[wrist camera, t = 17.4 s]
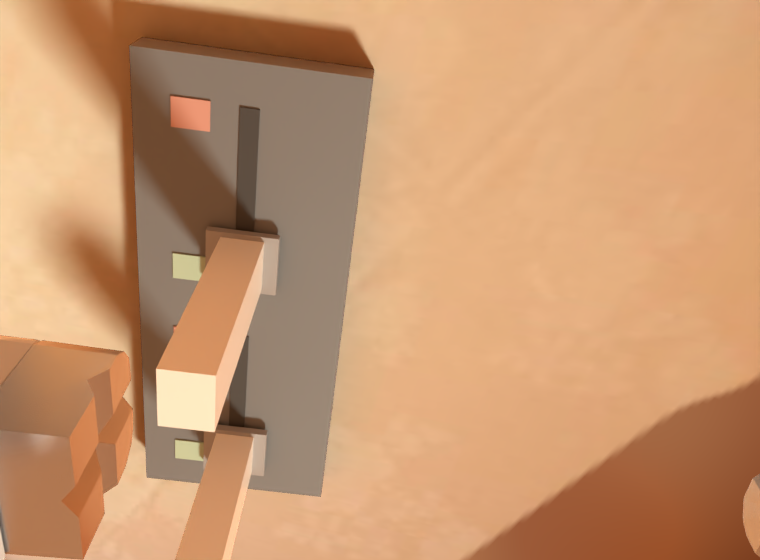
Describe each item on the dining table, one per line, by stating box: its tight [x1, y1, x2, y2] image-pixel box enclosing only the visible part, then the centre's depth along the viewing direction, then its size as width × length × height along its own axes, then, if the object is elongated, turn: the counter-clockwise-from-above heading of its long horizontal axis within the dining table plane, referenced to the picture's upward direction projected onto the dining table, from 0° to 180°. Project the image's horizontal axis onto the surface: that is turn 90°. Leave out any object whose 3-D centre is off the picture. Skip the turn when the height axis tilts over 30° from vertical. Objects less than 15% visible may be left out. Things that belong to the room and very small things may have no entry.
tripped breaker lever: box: [156, 226, 281, 432], centre depth 35 cm, size 4×4×12 cm
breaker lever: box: [175, 424, 268, 560], centre depth 42 cm, size 4×4×12 cm
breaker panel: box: [129, 37, 374, 497], centre depth 44 cm, size 29×12×2 cm, turn 173°
